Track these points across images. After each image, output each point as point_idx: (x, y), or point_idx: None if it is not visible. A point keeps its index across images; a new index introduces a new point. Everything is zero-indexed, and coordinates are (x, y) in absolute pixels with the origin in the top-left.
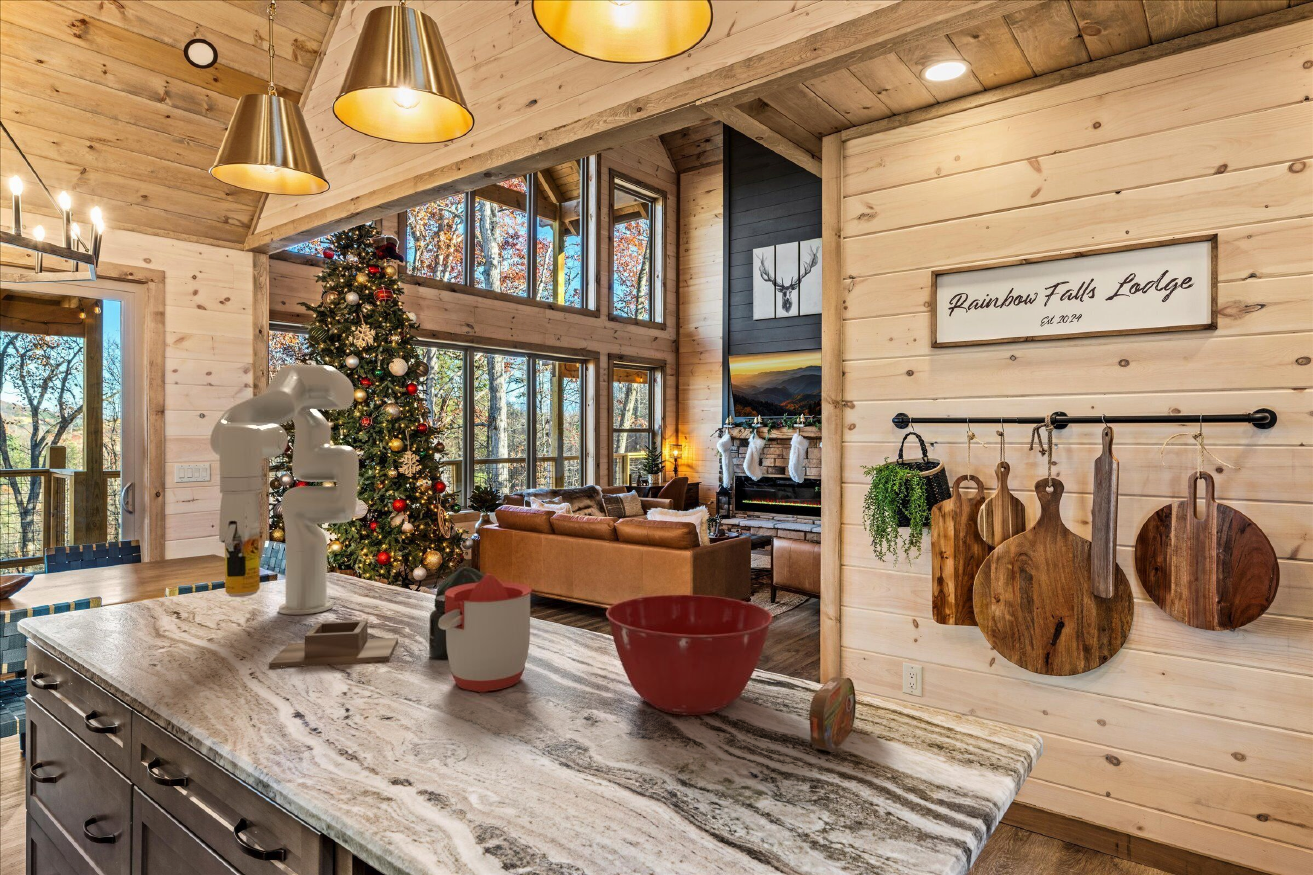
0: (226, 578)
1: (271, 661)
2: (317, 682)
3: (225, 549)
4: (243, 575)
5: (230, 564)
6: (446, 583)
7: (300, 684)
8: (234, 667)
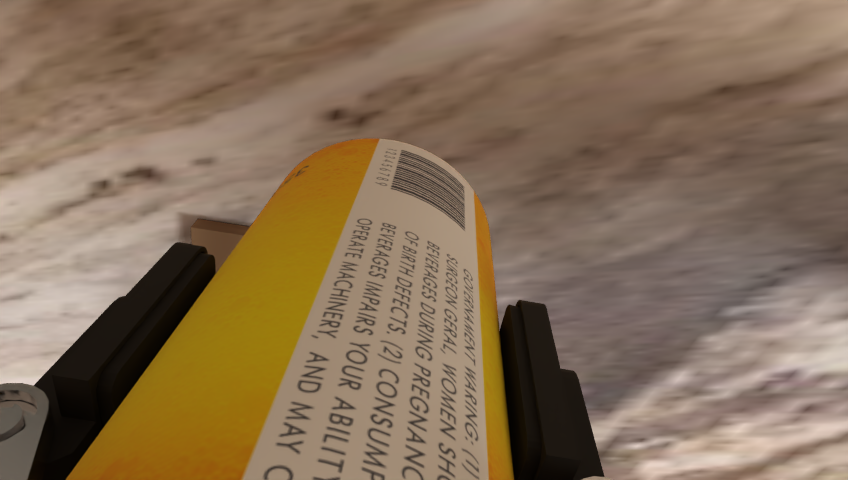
0: (279, 202)
1: (206, 233)
2: (43, 346)
3: (151, 414)
4: None
5: (70, 347)
6: None
7: (27, 310)
8: (229, 104)
